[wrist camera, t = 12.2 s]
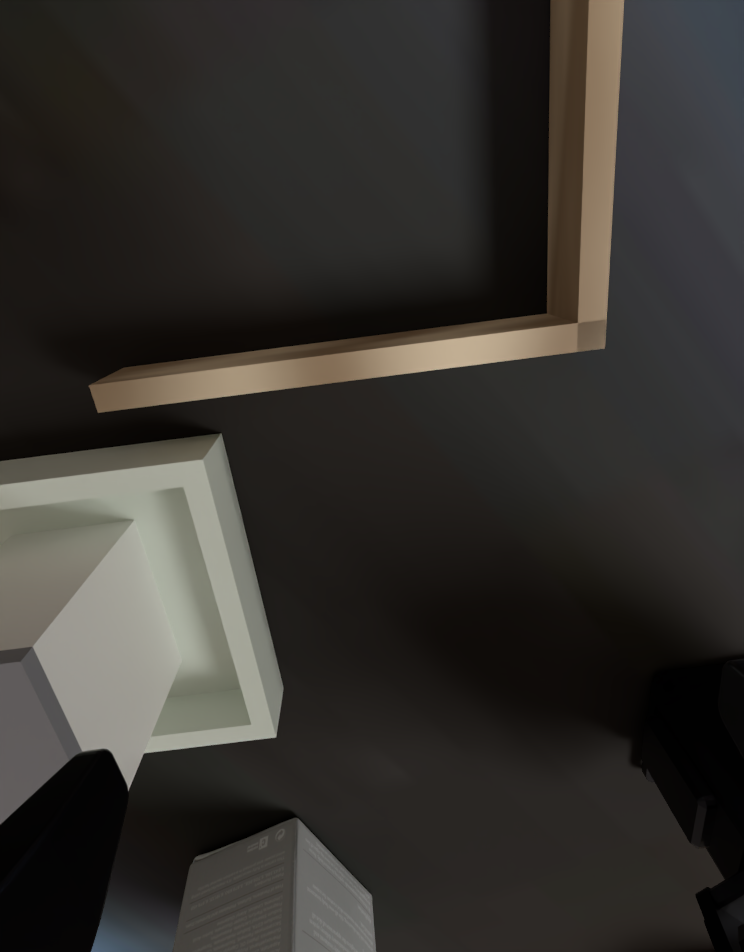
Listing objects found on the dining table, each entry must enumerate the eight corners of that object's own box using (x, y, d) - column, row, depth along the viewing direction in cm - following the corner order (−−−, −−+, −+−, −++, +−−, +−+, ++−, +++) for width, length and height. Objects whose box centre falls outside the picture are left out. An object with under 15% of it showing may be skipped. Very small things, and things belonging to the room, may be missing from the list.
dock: (585, -165, 13) (638, -258, 10) (570, 335, 17) (605, 348, 15) (-14, -83, 13) (-93, -156, 10) (131, 391, 17) (97, 412, 15)
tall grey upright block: (134, 519, 19) (20, 661, 12) (181, 660, 21) (108, 839, 15) (11, 535, 19) (-167, 684, 12) (73, 674, 21) (-48, 858, 15)
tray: (221, 433, 18) (202, 459, 16) (283, 687, 23) (275, 737, 20) (-111, 475, 18) (-177, 507, 16) (17, 720, 23) (-20, 772, 20)
